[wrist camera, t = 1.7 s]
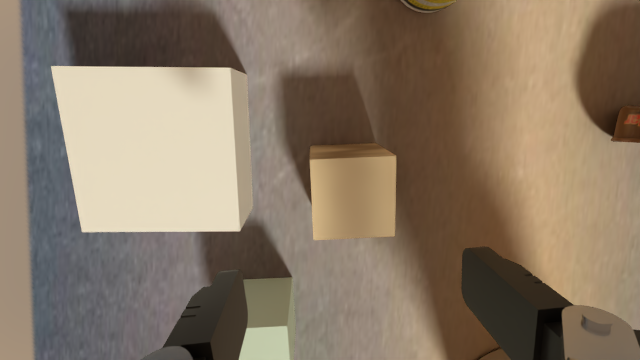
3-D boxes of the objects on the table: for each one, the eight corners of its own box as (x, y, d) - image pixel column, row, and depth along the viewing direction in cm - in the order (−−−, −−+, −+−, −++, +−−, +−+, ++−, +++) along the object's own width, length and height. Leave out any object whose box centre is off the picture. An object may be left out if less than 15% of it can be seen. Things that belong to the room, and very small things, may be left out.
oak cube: (375, 142, 24) (396, 155, 18) (375, 205, 25) (394, 236, 19) (310, 145, 24) (309, 159, 18) (313, 208, 25) (313, 240, 19)
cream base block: (247, 74, 23) (230, 67, 18) (253, 206, 25) (239, 231, 20) (106, 73, 23) (50, 66, 18) (126, 206, 25) (82, 232, 20)
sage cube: (292, 276, 27) (287, 326, 21) (295, 327, 28) (291, 387, 22) (232, 279, 26) (210, 330, 21) (238, 330, 28) (219, 391, 22)
